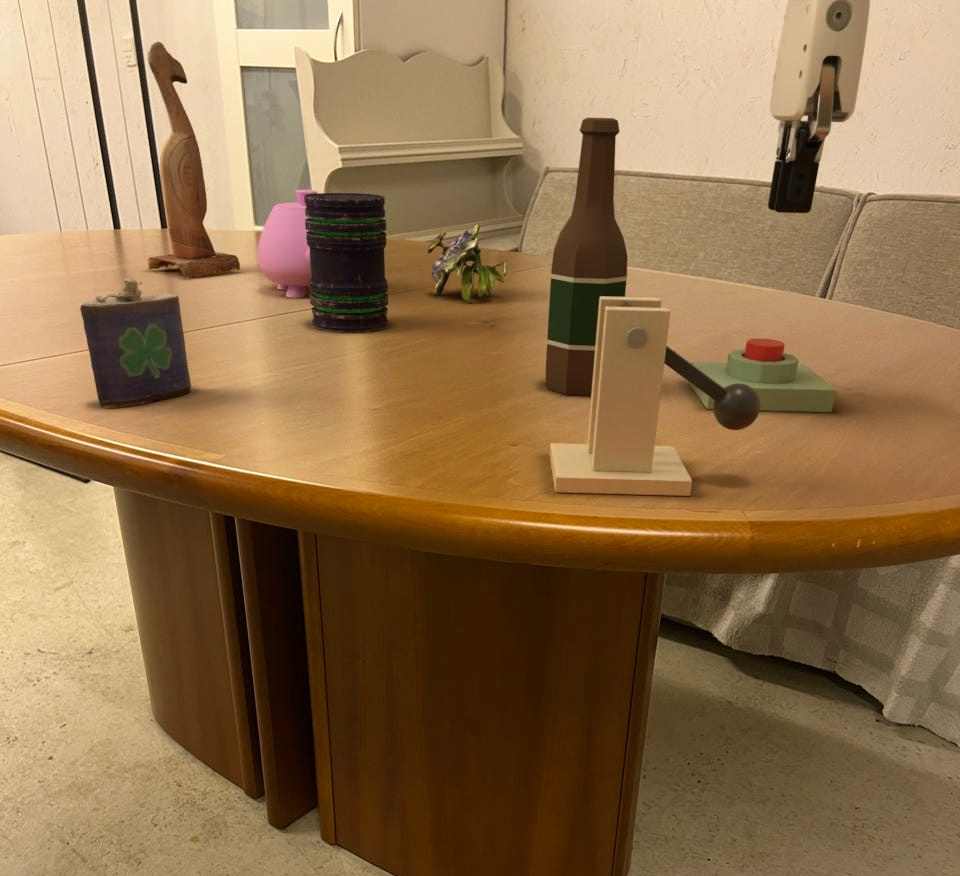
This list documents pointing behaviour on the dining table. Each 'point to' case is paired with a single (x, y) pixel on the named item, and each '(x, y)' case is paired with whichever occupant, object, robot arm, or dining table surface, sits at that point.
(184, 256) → the bird sculpture
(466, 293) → the passion flower
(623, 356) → the bracket
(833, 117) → the robot arm
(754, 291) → the dining table surface
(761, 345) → the button
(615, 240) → the beer bottle
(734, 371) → the button box
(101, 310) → the flask
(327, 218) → the storage jar
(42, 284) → the dining table surface
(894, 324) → the dining table surface
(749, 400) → the lever
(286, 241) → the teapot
